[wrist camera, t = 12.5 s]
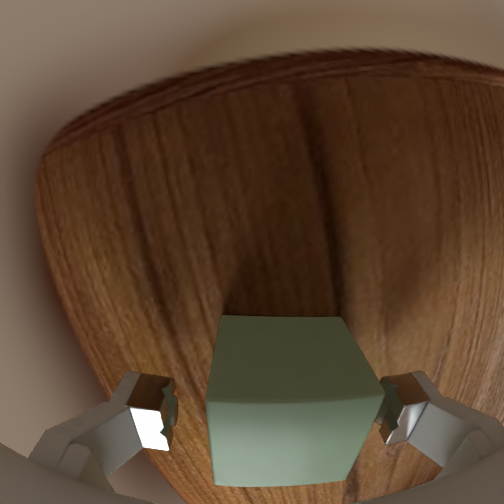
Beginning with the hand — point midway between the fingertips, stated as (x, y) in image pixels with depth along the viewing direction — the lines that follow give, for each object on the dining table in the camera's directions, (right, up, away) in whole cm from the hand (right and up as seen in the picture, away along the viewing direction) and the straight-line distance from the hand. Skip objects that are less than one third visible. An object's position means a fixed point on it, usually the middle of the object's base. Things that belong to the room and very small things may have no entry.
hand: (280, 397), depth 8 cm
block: (0, 0, +2) cm, 2 cm away
